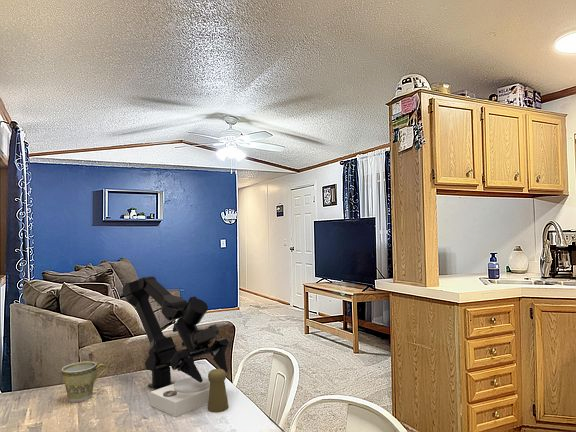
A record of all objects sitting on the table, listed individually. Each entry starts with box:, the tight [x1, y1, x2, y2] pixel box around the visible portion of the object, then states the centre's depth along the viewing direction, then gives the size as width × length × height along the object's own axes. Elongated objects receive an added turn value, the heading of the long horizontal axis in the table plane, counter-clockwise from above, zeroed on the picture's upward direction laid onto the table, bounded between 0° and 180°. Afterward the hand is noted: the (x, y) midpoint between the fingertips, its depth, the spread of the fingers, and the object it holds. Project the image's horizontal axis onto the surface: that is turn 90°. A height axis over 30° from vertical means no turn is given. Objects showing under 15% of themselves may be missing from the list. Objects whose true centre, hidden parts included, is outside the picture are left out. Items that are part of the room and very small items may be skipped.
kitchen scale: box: [149, 376, 210, 418], centre depth 132 cm, size 13×16×5 cm
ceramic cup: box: [61, 361, 106, 403], centre depth 140 cm, size 13×10×10 cm
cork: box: [207, 368, 229, 414], centre depth 127 cm, size 6×6×11 cm
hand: (214, 377), depth 128 cm, fingers open, 9 cm apart
